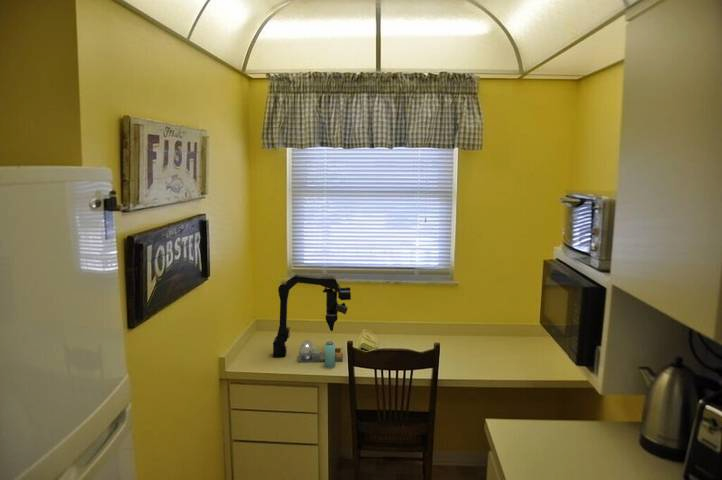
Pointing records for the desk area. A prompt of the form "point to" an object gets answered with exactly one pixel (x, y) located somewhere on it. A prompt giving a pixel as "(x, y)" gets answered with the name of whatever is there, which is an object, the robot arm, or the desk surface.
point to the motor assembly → (316, 353)
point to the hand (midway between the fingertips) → (331, 328)
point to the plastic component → (367, 340)
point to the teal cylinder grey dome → (329, 354)
